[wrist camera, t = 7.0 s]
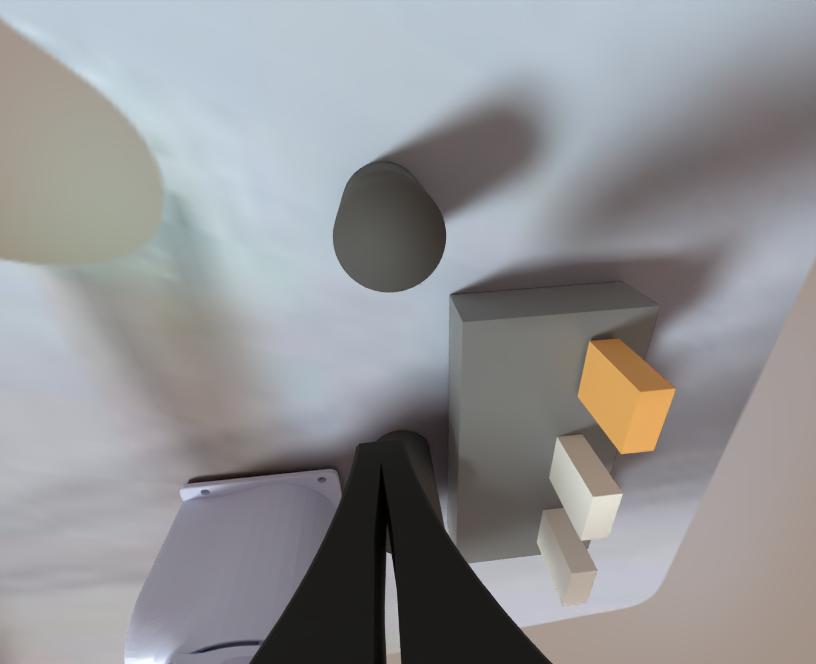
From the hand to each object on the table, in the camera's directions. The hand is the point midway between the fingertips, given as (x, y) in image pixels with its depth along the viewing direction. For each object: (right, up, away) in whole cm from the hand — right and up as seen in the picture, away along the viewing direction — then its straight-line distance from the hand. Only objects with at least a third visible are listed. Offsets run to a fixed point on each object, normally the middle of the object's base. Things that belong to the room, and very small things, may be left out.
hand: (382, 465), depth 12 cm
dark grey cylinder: (0, +10, +6) cm, 11 cm away
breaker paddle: (+10, +2, +7) cm, 12 cm away
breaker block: (+8, -2, +13) cm, 15 cm away
